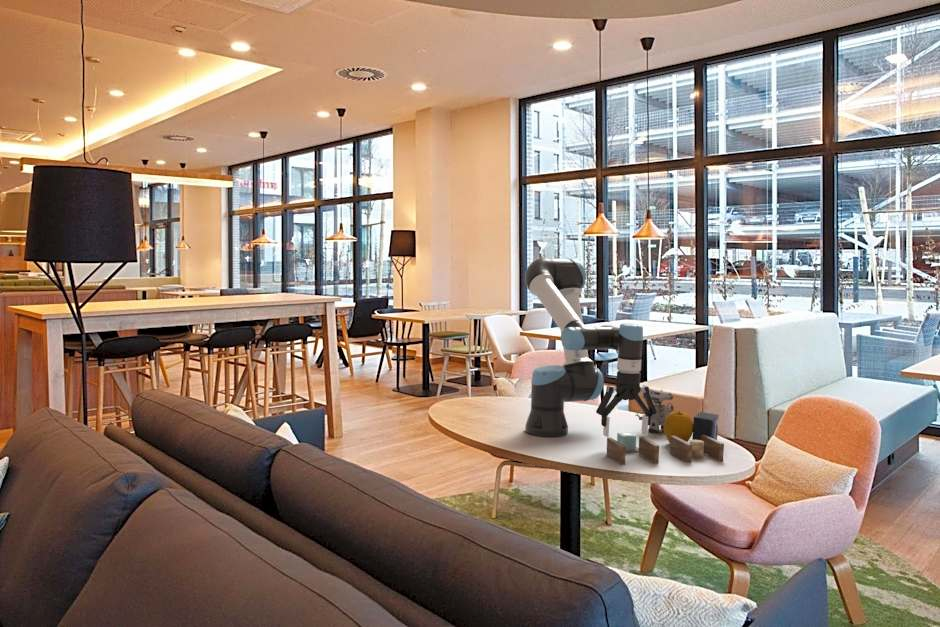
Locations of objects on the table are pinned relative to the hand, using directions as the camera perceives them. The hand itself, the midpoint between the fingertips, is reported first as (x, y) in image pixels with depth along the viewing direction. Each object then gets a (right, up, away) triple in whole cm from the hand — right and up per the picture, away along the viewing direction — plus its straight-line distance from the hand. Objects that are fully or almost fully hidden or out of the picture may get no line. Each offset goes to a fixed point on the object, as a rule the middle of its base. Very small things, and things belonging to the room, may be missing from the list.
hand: (625, 435), depth 225 cm
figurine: (+17, -3, +27) cm, 32 cm away
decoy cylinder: (+21, -5, -7) cm, 23 cm away
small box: (+28, -5, +7) cm, 30 cm away
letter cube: (0, -4, -1) cm, 4 cm away
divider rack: (+10, -5, -9) cm, 15 cm away
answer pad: (0, -4, 0) cm, 4 cm away
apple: (+19, -5, +7) cm, 21 cm away
